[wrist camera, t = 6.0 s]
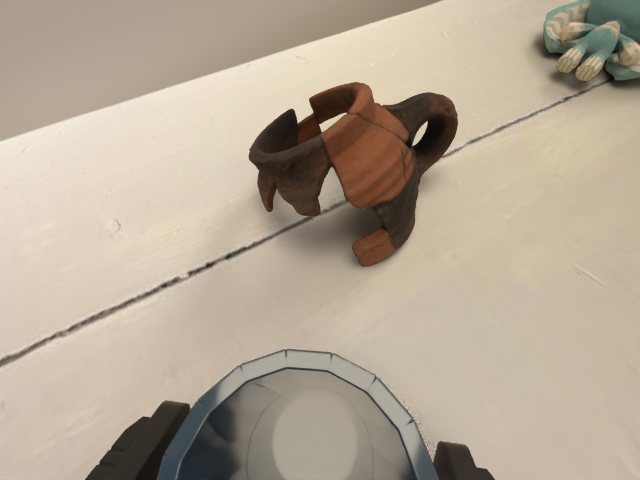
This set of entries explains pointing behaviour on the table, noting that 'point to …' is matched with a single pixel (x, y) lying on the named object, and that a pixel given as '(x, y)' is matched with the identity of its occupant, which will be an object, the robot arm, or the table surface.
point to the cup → (298, 426)
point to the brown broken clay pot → (356, 158)
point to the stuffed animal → (596, 37)
